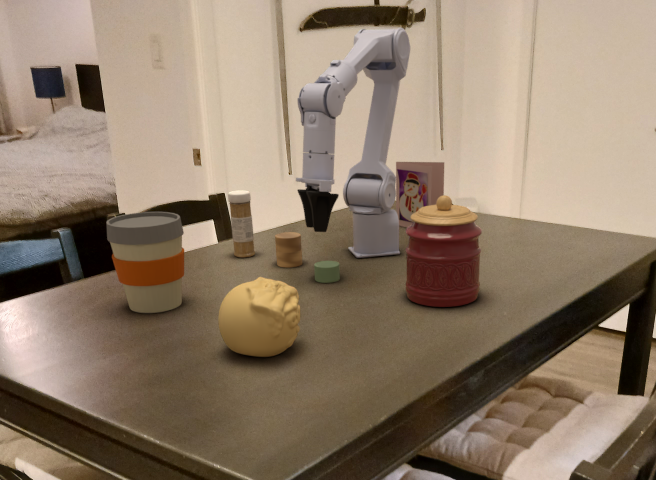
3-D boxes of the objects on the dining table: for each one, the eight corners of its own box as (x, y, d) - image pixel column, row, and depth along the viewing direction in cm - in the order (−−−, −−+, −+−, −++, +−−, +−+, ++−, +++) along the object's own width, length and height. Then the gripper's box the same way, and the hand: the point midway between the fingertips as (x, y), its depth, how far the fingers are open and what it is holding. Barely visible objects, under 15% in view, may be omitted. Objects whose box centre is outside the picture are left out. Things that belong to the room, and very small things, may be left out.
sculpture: (291, 366, 107) (286, 293, 103) (210, 362, 109) (202, 290, 105) (311, 337, 118) (307, 269, 113) (236, 334, 120) (230, 267, 115)
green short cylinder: (336, 274, 148) (336, 259, 147) (342, 281, 144) (342, 266, 143) (312, 277, 147) (311, 261, 146) (317, 284, 143) (316, 268, 142)
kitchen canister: (449, 313, 126) (452, 206, 119) (390, 298, 134) (389, 197, 127) (493, 294, 135) (498, 193, 127) (435, 281, 143) (437, 185, 135)
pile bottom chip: (299, 259, 159) (299, 245, 157) (304, 266, 154) (303, 251, 153) (275, 261, 157) (274, 247, 156) (279, 268, 153) (278, 253, 152)
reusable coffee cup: (103, 312, 131) (88, 225, 124) (147, 290, 141) (135, 209, 135) (164, 319, 126) (152, 230, 120) (205, 297, 137) (196, 213, 131)
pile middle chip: (293, 245, 158) (292, 230, 157) (306, 250, 154) (305, 235, 153) (271, 249, 155) (270, 234, 154) (284, 254, 151) (282, 239, 150)
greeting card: (393, 225, 185) (393, 162, 179) (414, 220, 190) (415, 158, 183) (428, 233, 177) (429, 167, 171) (449, 227, 182) (451, 163, 176)
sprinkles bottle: (248, 251, 166) (242, 188, 160) (259, 255, 162) (254, 191, 157) (229, 255, 163) (223, 191, 157) (240, 259, 160) (234, 194, 154)
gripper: (290, 151, 144) (288, 224, 148) (304, 153, 130) (302, 233, 134) (326, 153, 146) (324, 226, 149) (344, 155, 132) (340, 234, 136)
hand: (316, 229), depth 142 cm, fingers open, 7 cm apart
